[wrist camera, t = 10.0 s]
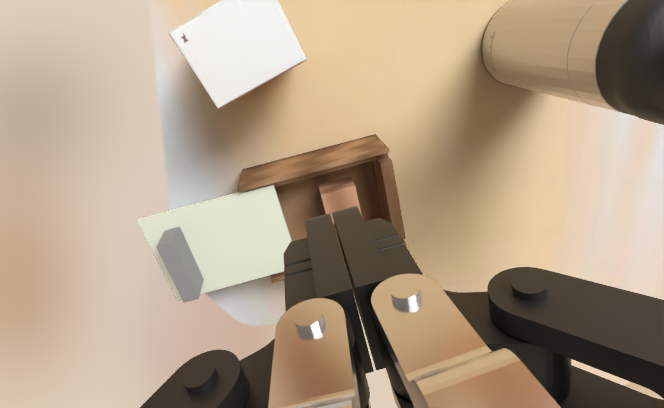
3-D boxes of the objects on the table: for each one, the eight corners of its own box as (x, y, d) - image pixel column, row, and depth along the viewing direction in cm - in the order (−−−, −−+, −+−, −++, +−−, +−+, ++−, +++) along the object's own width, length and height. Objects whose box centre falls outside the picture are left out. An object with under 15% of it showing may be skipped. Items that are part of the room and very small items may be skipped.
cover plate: (273, 182, 42) (273, 197, 38) (299, 264, 46) (301, 285, 43) (138, 218, 41) (125, 237, 38) (178, 297, 46) (170, 321, 42)
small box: (232, 88, 42) (216, 111, 31) (197, 30, 40) (164, 31, 28) (298, 50, 42) (308, 60, 30) (267, -11, 39) (264, -28, 27)
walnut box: (375, 134, 46) (389, 149, 41) (391, 222, 52) (406, 247, 46) (242, 169, 46) (237, 190, 40) (272, 254, 51) (272, 284, 45)
